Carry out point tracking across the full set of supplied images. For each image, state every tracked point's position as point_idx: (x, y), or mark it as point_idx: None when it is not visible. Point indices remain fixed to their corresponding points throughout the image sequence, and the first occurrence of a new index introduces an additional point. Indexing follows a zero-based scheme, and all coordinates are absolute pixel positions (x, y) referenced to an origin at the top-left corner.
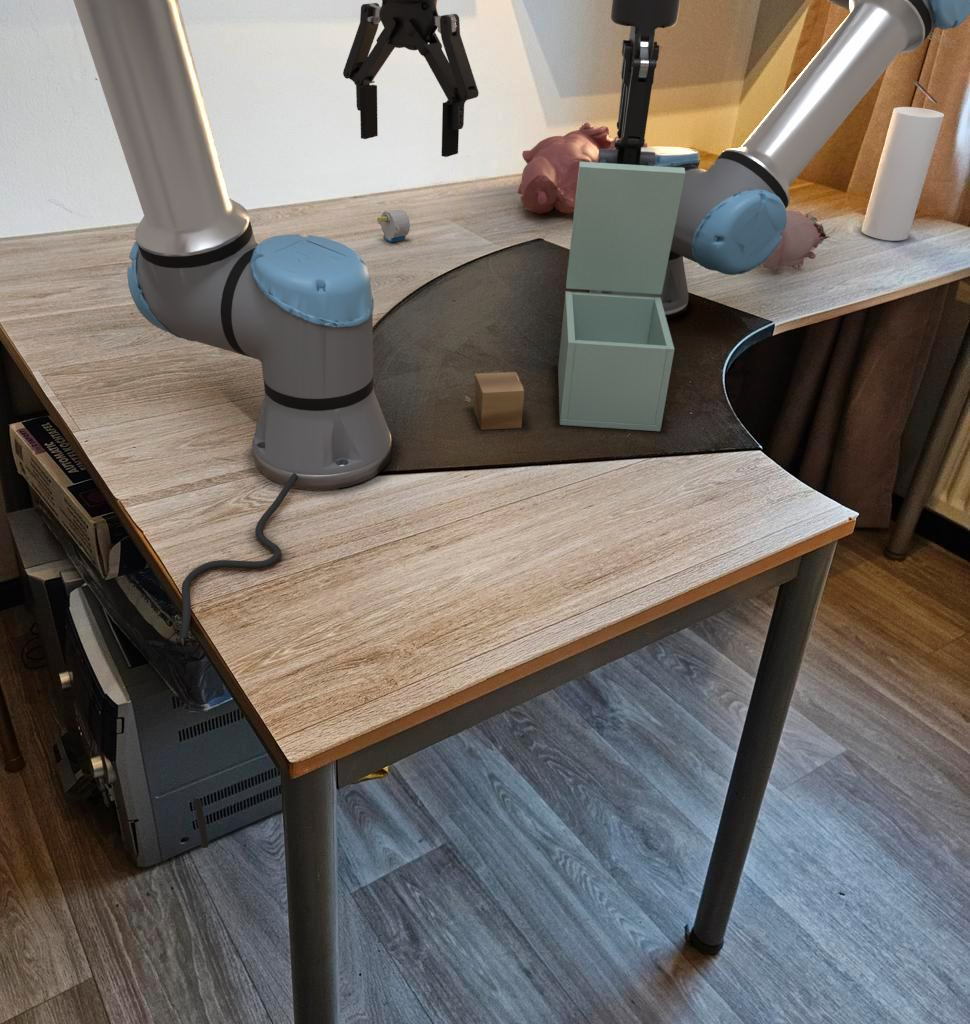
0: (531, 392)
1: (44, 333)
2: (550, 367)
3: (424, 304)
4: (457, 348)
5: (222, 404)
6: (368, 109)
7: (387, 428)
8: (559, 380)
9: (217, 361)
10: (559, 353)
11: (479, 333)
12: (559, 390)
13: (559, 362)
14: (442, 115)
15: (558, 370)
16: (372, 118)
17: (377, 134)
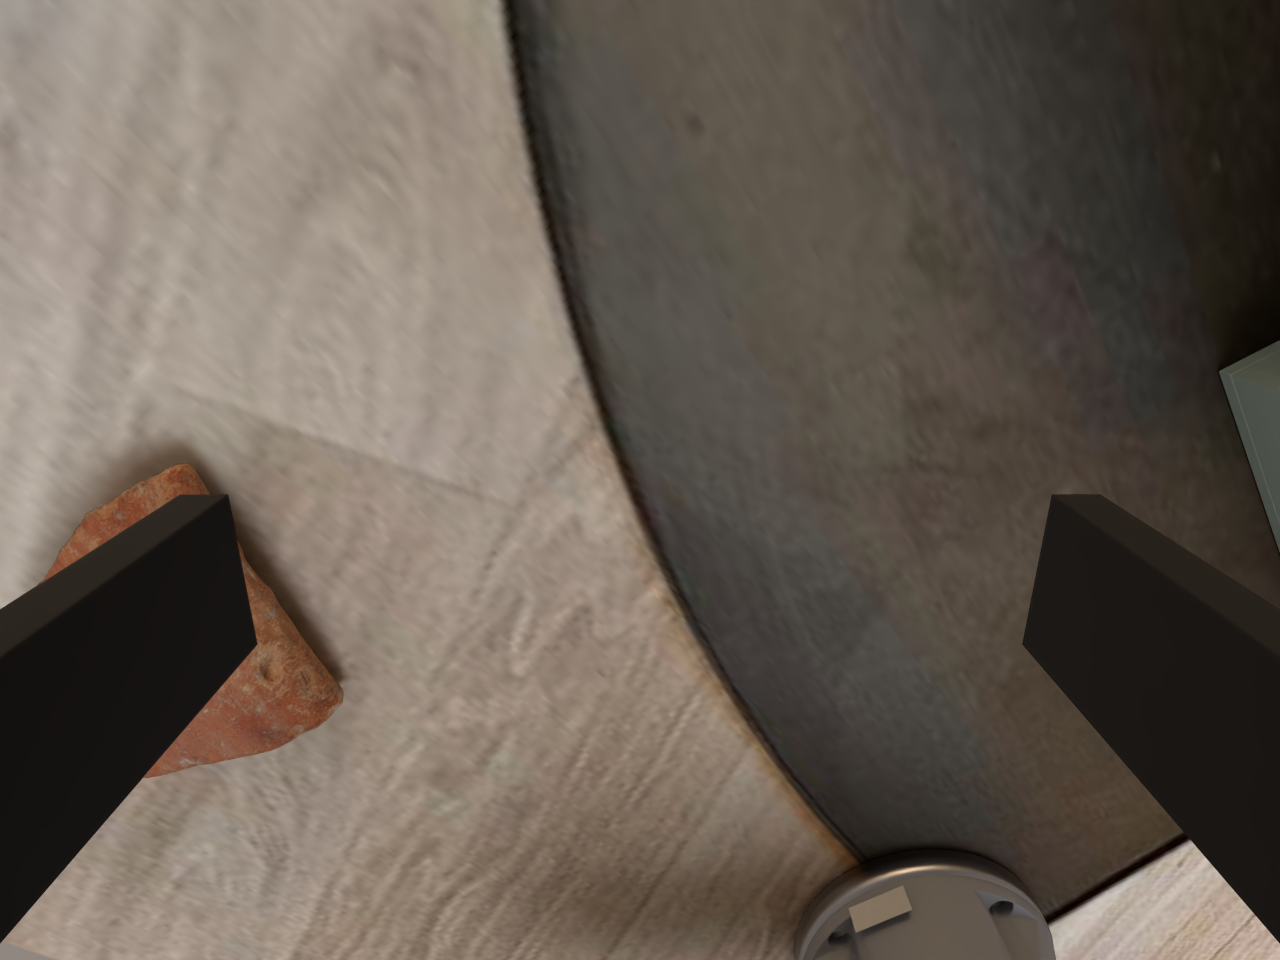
0: (1190, 534)
1: (97, 927)
2: (1194, 379)
3: (631, 226)
4: (903, 441)
5: (636, 920)
6: (98, 751)
7: (1041, 931)
8: (1273, 489)
9: (477, 821)
10: (1254, 385)
11: (909, 310)
12: (1277, 518)
13: (1262, 424)
14: (1243, 900)
15: (1236, 406)
16: (151, 640)
17: (222, 501)
